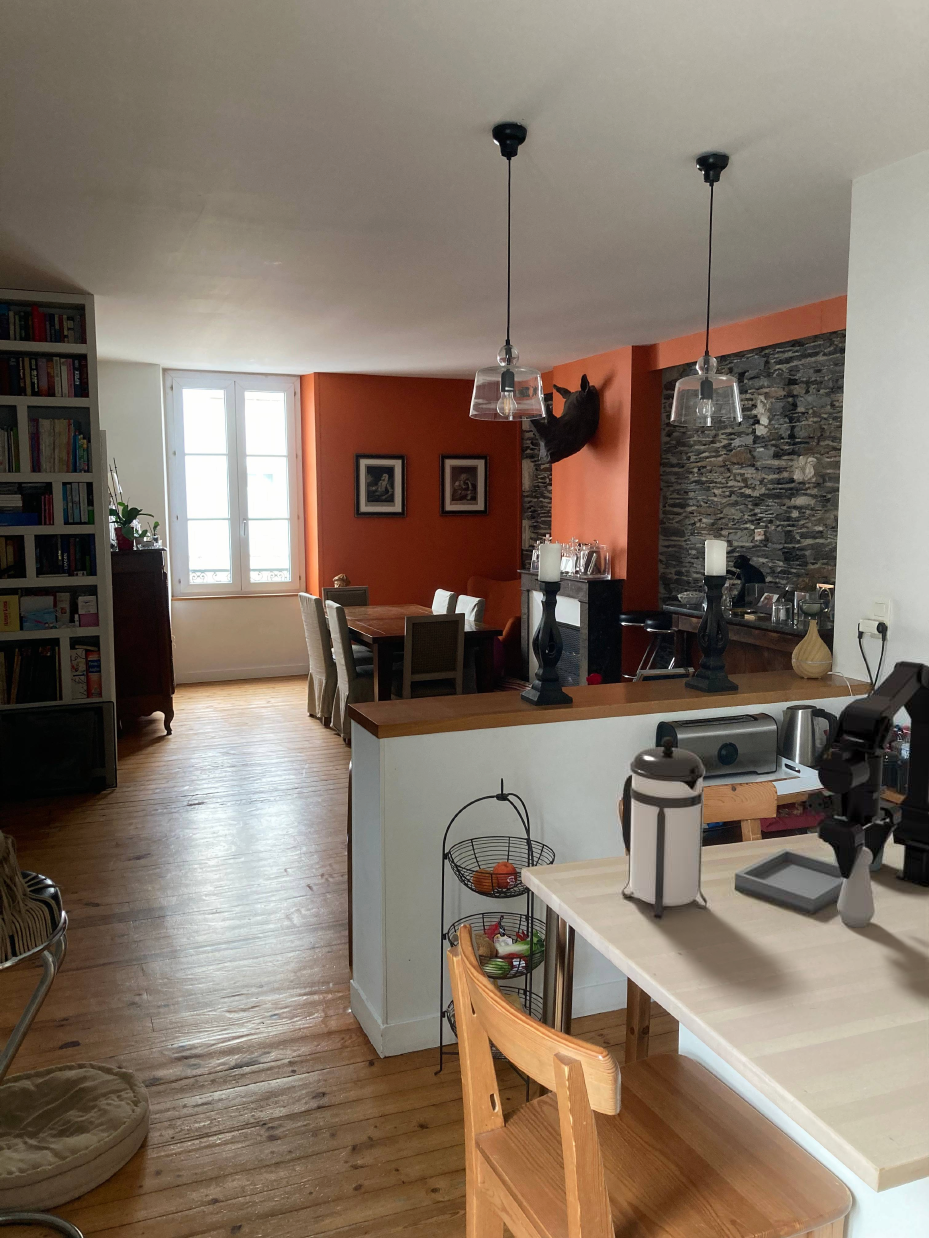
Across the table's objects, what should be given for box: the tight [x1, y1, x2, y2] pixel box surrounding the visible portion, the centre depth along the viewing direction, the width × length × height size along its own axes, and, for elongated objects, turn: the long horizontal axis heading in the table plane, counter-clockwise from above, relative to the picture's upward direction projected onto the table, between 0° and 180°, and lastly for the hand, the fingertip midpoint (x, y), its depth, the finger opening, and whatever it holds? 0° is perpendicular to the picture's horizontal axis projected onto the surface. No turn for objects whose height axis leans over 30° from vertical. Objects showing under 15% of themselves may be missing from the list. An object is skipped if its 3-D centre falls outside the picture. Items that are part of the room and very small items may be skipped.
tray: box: [734, 848, 844, 916], centre depth 168 cm, size 18×15×3 cm
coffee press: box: [621, 736, 708, 919], centre depth 162 cm, size 17×16×30 cm
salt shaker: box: [836, 847, 876, 928], centre depth 154 cm, size 6×6×13 cm
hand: (857, 870), depth 153 cm, fingers open, 9 cm apart
